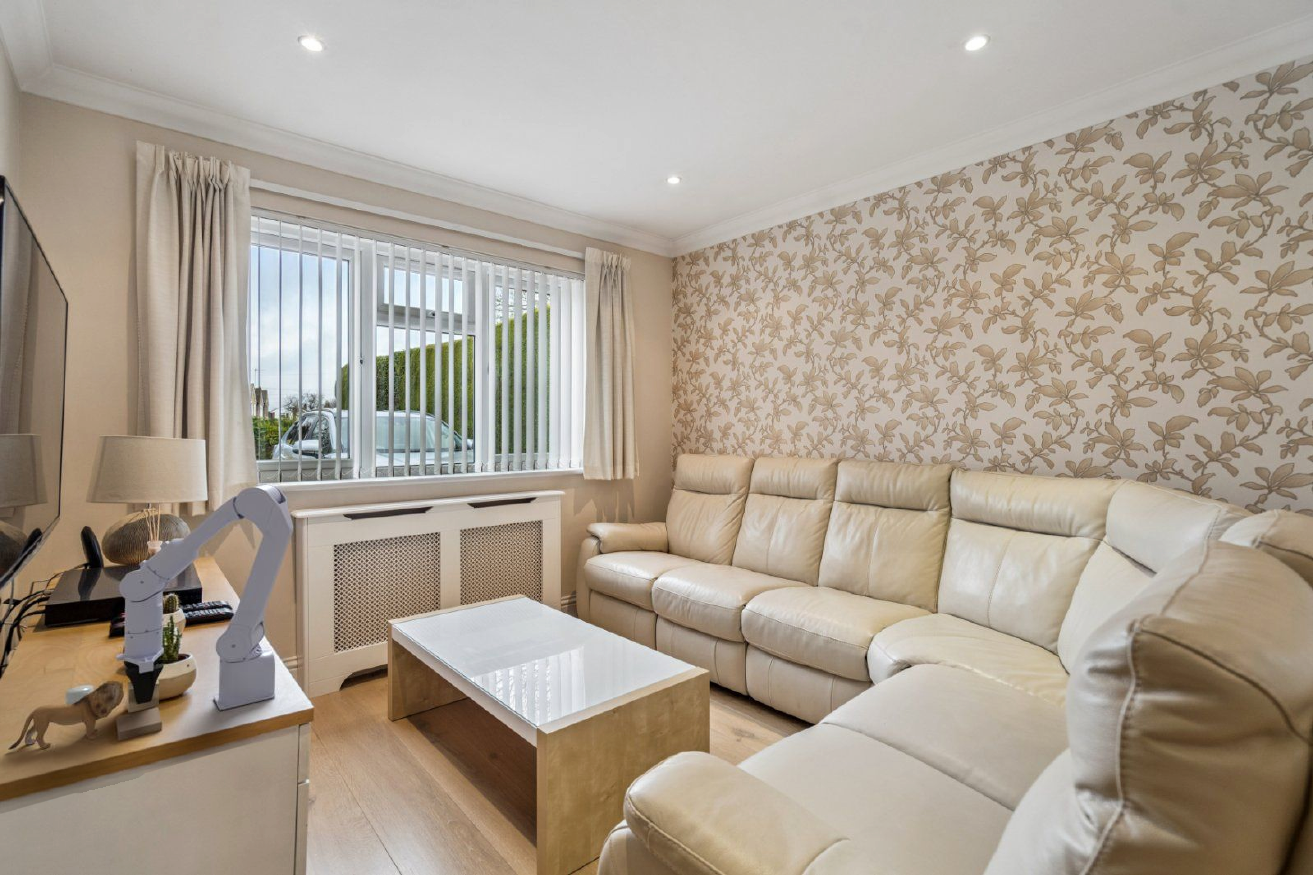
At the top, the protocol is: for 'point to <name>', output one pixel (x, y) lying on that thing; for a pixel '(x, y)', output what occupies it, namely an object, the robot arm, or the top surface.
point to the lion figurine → (74, 713)
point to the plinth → (138, 723)
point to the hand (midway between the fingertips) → (143, 698)
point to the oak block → (134, 706)
